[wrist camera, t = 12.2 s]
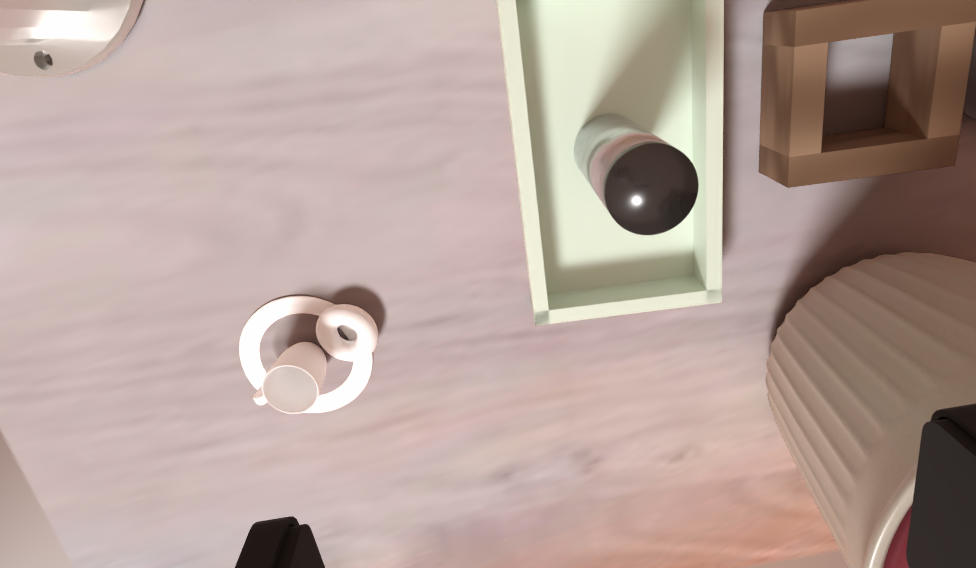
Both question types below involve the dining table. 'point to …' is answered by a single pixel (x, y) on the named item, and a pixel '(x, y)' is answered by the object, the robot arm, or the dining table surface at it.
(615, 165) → the dark capped bottle
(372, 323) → the teacup and saucer
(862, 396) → the canister
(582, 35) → the tray
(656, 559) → the dining table surface
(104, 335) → the dining table surface
